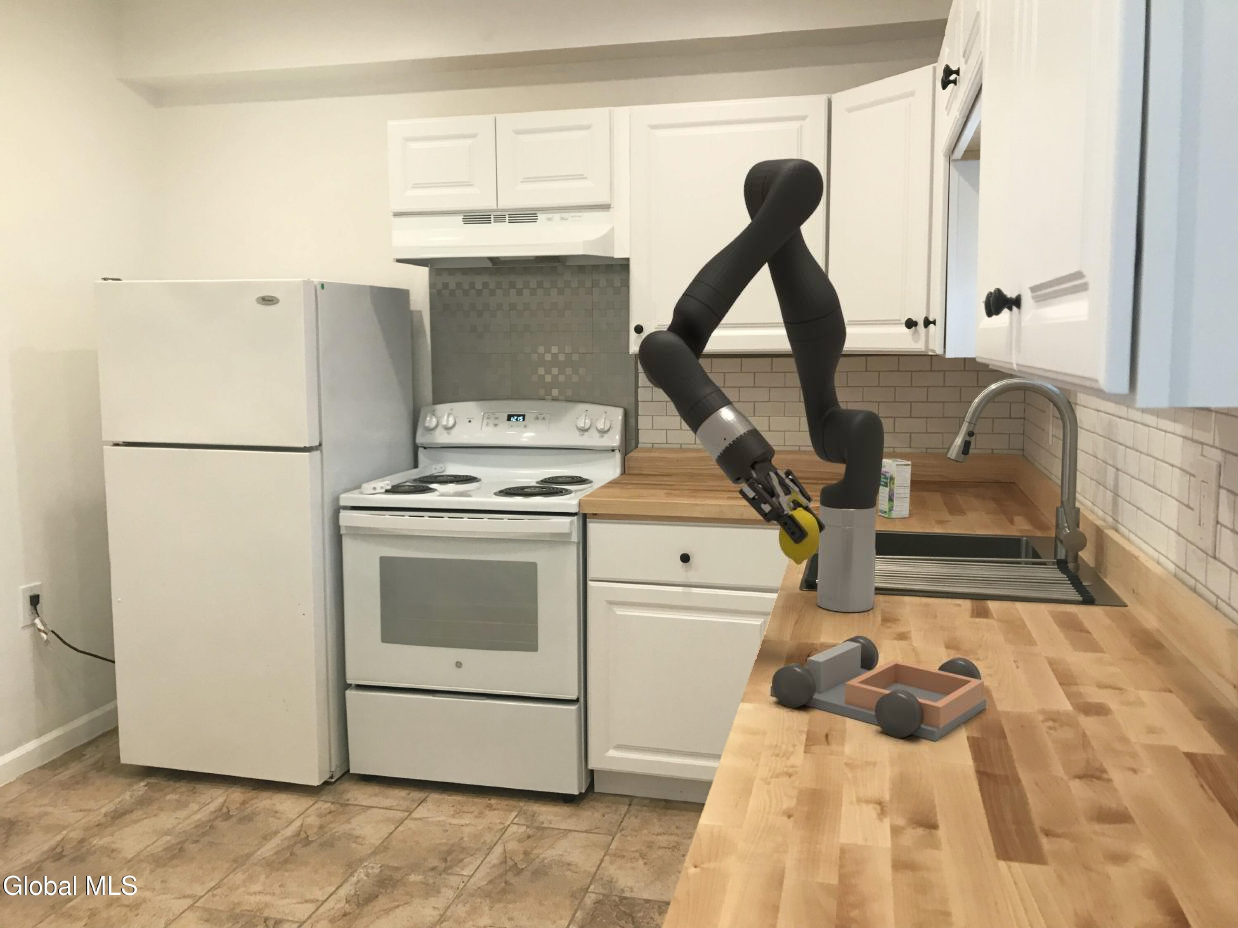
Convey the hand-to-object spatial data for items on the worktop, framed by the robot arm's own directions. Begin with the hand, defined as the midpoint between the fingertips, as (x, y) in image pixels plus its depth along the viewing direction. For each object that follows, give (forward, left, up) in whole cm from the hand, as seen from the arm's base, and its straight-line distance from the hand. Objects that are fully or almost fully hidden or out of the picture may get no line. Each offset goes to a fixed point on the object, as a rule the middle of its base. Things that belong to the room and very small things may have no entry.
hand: (811, 535), depth 139 cm
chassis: (+7, +14, -18) cm, 24 cm away
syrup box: (-117, -47, -18) cm, 127 cm away
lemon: (0, -2, -4) cm, 5 cm away
